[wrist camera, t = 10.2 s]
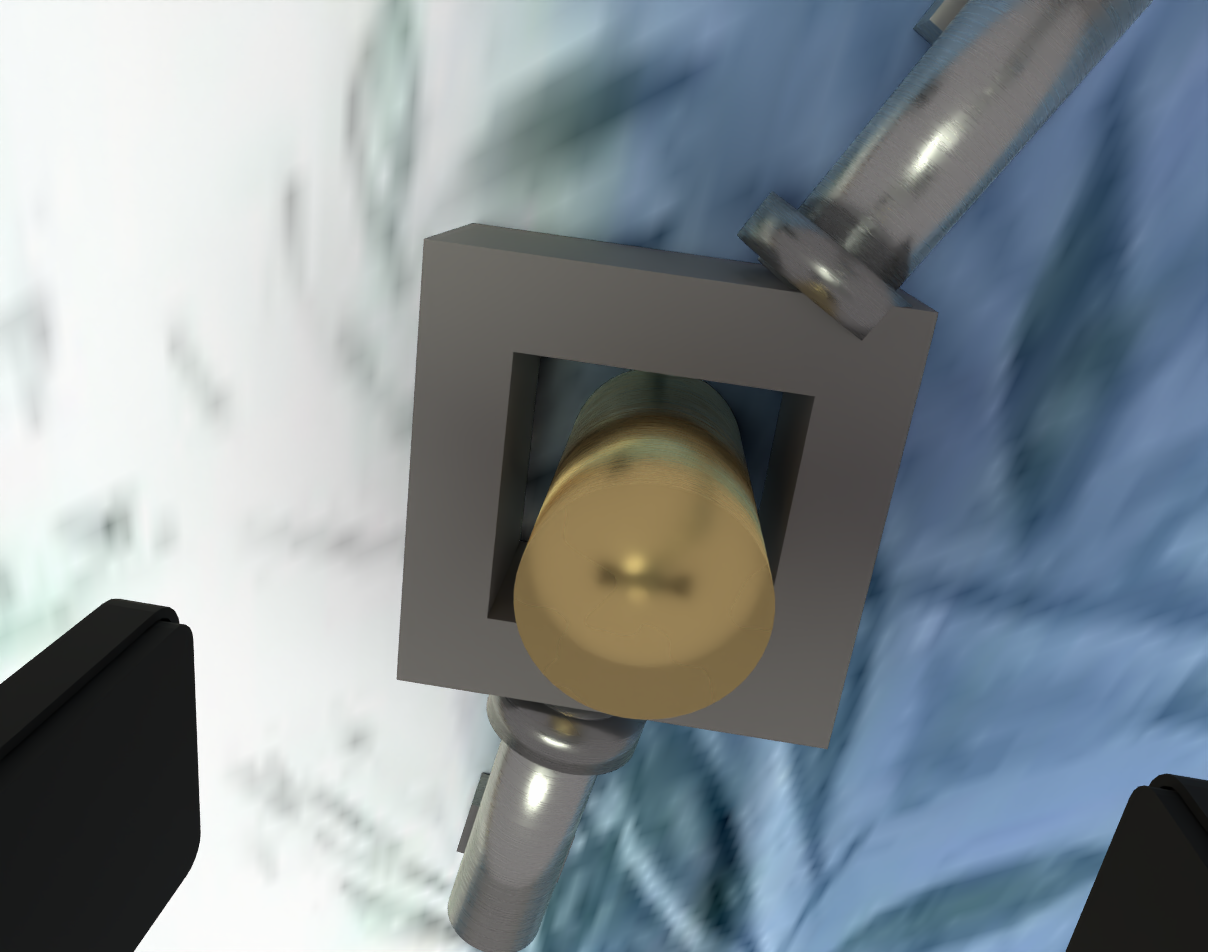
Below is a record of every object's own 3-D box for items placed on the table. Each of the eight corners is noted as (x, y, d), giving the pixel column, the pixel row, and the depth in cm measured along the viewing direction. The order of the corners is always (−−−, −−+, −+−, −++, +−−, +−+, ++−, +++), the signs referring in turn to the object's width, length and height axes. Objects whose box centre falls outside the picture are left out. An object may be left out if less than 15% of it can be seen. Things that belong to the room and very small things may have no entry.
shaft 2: (853, 332, 20) (895, 376, 16) (727, 229, 20) (738, 248, 16) (1107, 46, 18) (1227, 15, 14) (971, -79, 18) (1057, -148, 14)
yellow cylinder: (755, 380, 21) (799, 505, 13) (725, 540, 22) (749, 737, 15) (581, 355, 21) (526, 465, 13) (562, 516, 22) (502, 699, 15)
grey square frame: (890, 282, 20) (938, 312, 16) (804, 651, 23) (827, 748, 19) (473, 223, 20) (424, 239, 16) (443, 595, 23) (396, 679, 20)
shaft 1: (519, 607, 23) (484, 702, 19) (654, 650, 23) (647, 754, 19) (450, 824, 26) (406, 949, 22) (572, 863, 26) (551, 994, 22)
